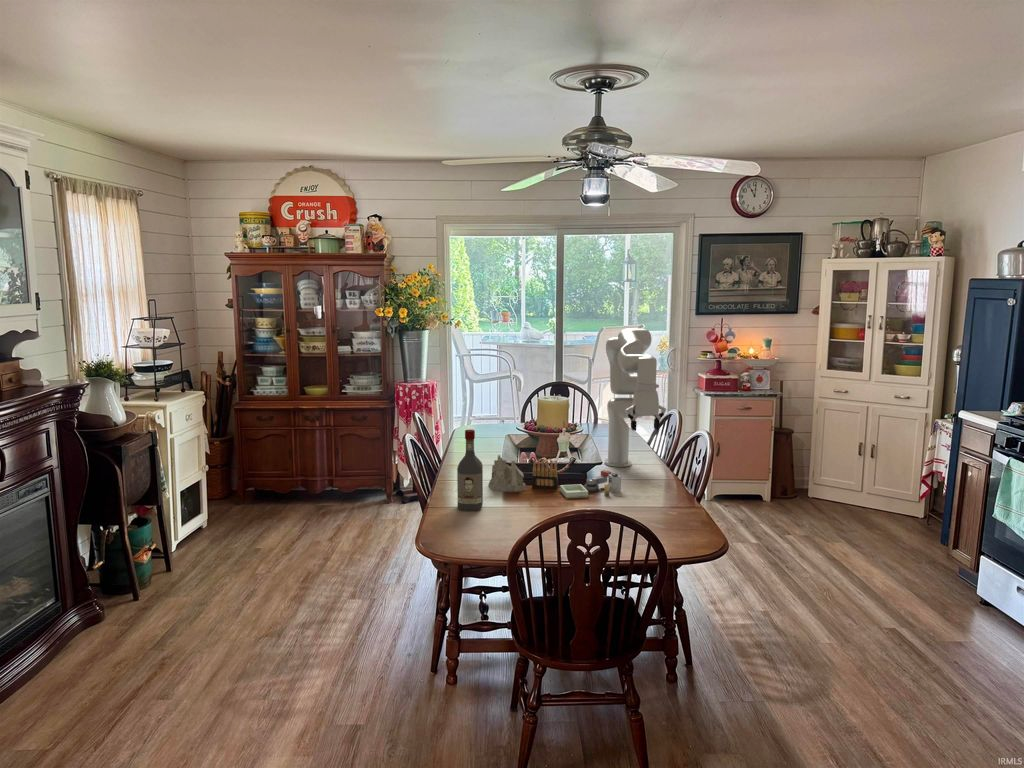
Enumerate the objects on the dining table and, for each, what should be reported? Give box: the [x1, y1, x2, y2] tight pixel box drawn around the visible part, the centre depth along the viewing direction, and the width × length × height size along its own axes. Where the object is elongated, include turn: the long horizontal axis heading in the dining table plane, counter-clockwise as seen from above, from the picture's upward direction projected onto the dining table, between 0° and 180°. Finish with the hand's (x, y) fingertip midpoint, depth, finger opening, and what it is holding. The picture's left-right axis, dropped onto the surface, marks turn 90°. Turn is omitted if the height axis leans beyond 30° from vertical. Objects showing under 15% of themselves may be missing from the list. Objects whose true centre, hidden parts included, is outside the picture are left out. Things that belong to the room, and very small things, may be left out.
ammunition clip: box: [531, 459, 559, 490], centre depth 284 cm, size 11×2×12 cm, turn 79°
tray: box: [559, 483, 589, 499], centre depth 277 cm, size 10×9×2 cm
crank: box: [585, 469, 612, 487], centre depth 284 cm, size 12×4×4 cm, turn 131°
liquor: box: [456, 429, 484, 512], centre depth 258 cm, size 9×9×30 cm
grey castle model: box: [488, 454, 527, 493], centre depth 287 cm, size 16×16×15 cm
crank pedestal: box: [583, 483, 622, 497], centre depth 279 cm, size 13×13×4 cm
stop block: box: [607, 472, 622, 494], centre depth 281 cm, size 4×4×7 cm
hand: (645, 429), depth 275 cm, fingers open, 9 cm apart
